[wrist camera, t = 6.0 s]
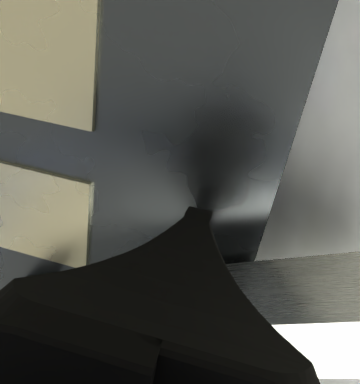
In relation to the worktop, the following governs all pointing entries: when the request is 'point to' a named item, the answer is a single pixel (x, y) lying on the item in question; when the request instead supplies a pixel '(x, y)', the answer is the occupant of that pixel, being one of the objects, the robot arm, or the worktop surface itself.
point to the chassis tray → (146, 121)
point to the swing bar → (310, 306)
